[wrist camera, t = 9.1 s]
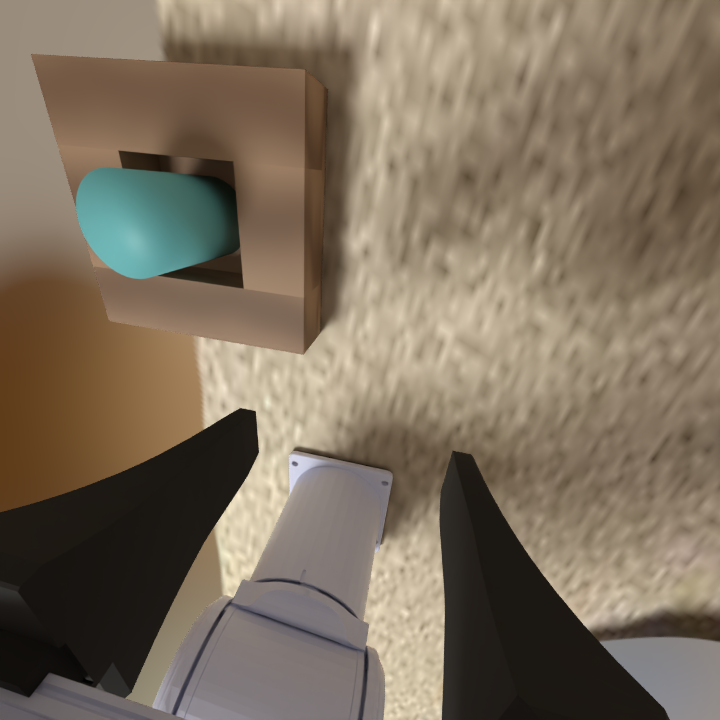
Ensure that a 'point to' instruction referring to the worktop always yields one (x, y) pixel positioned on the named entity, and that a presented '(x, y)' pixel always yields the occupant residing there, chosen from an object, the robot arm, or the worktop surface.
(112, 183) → the teal pin
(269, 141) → the socket block
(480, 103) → the worktop surface
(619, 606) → the worktop surface
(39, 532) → the robot arm
